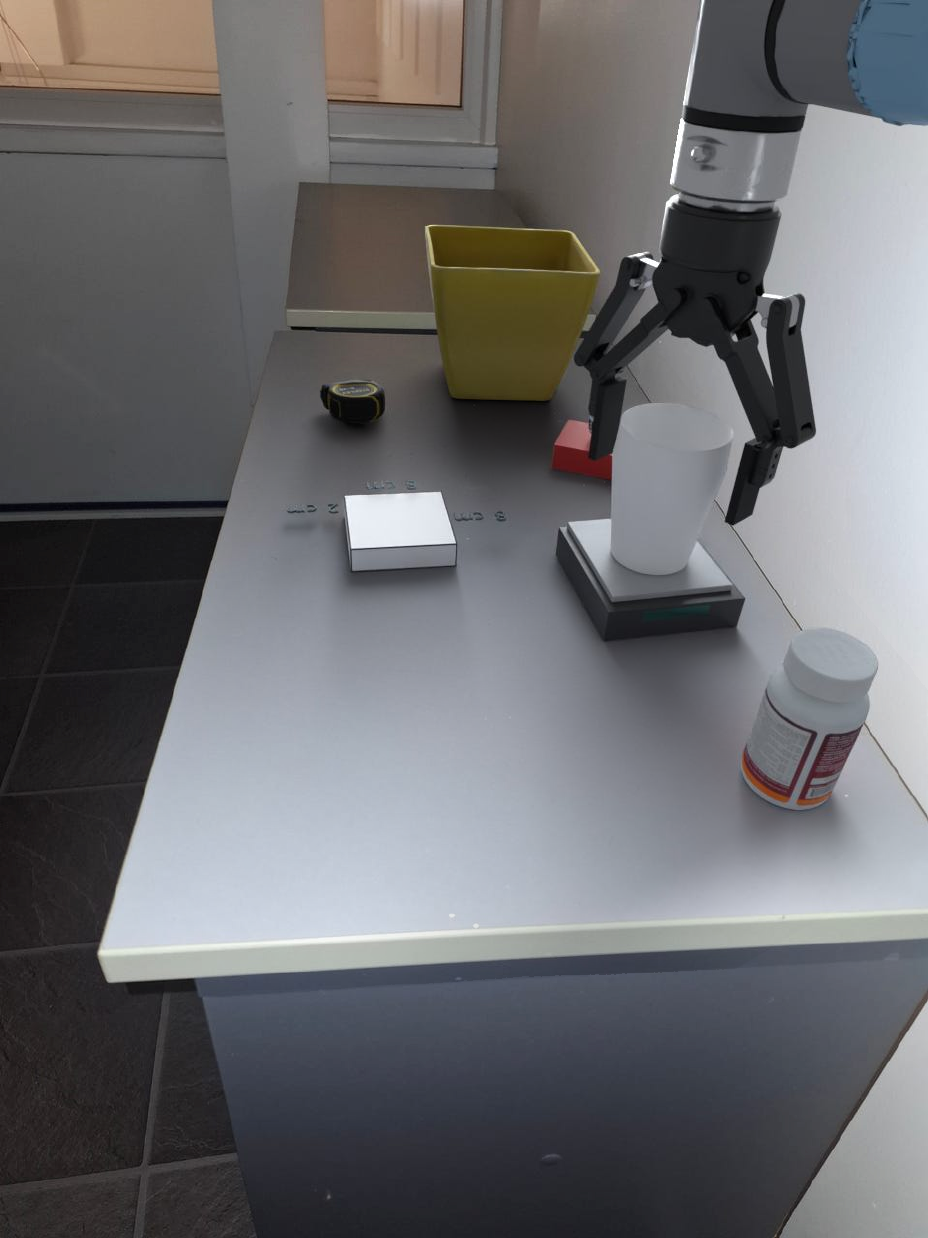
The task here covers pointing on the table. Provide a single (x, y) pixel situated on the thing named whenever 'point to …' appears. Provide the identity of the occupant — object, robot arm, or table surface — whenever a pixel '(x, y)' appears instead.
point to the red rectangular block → (579, 451)
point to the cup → (664, 483)
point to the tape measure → (354, 400)
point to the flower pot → (507, 307)
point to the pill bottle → (809, 718)
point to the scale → (644, 588)
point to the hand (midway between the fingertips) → (666, 485)
